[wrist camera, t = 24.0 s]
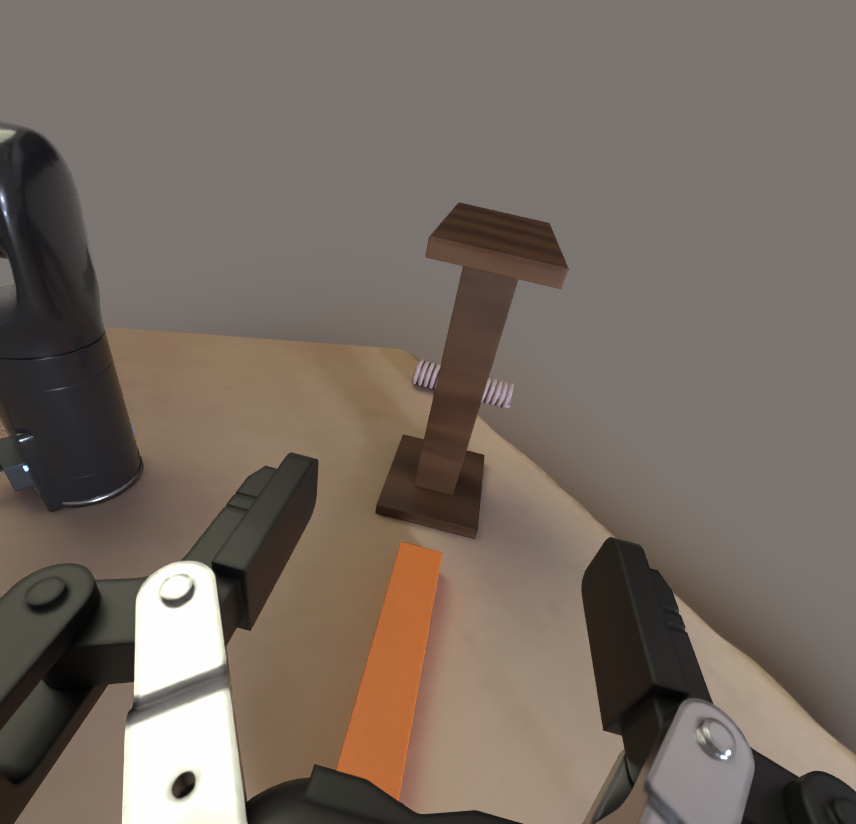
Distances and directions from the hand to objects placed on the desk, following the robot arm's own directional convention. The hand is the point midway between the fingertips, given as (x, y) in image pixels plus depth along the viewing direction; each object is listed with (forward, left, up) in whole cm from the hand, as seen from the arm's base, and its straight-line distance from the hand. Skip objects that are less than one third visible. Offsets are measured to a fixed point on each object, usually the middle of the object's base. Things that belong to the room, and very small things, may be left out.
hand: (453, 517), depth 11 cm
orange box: (+7, +4, -30) cm, 31 cm away
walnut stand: (+28, +16, -30) cm, 44 cm away
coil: (+49, +27, -30) cm, 64 cm away
